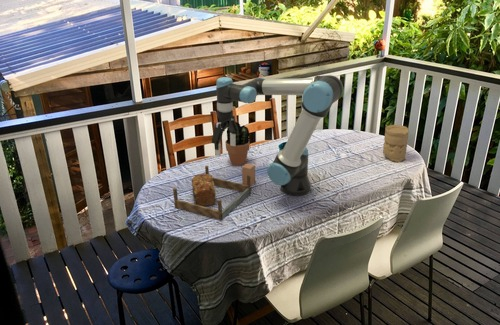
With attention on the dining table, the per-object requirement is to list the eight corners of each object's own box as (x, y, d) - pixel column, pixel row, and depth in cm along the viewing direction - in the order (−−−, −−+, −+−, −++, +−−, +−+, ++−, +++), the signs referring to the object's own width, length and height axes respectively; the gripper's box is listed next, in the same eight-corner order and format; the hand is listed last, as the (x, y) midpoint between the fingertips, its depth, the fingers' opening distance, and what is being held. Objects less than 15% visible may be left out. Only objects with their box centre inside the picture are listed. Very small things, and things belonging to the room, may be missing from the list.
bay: (250, 193, 225) (250, 175, 221) (221, 220, 203) (219, 200, 198) (207, 182, 236) (206, 165, 232) (175, 207, 214) (173, 188, 210)
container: (407, 156, 261) (411, 127, 253) (401, 164, 251) (405, 134, 244) (386, 152, 267) (389, 123, 259) (379, 159, 257) (382, 130, 250)
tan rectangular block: (255, 182, 236) (255, 165, 231) (250, 186, 232) (250, 168, 227) (247, 180, 238) (246, 163, 234) (242, 184, 234) (241, 167, 230)
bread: (216, 205, 215) (215, 187, 211) (194, 207, 214) (192, 189, 209) (213, 187, 232) (212, 170, 228) (192, 189, 230) (190, 171, 226)
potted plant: (241, 169, 250) (240, 127, 239) (221, 164, 257) (219, 123, 246) (254, 160, 260) (253, 119, 250) (235, 155, 267) (233, 115, 256)
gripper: (232, 101, 227) (232, 140, 236) (203, 116, 208) (204, 157, 217) (245, 104, 224) (244, 143, 233) (216, 119, 204) (217, 161, 214)
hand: (225, 150), depth 225 cm, fingers open, 13 cm apart
